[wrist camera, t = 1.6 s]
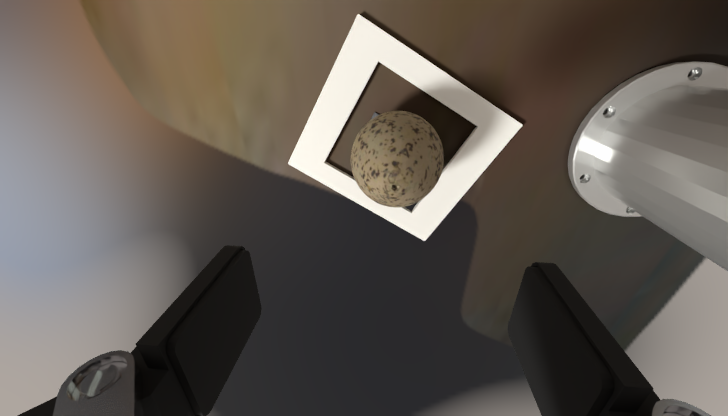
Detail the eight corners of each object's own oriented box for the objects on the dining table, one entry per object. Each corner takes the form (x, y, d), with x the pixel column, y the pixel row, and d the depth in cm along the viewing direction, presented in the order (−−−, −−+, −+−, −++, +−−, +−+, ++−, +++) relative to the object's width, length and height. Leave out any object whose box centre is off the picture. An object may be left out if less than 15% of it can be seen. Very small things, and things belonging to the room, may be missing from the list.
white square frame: (520, 123, 25) (523, 124, 25) (424, 238, 31) (424, 241, 31) (358, 14, 23) (358, 13, 22) (289, 162, 29) (287, 163, 28)
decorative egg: (372, 189, 29) (360, 246, 20) (347, 118, 26) (320, 149, 17) (444, 169, 27) (466, 221, 19) (425, 91, 25) (440, 110, 16)
